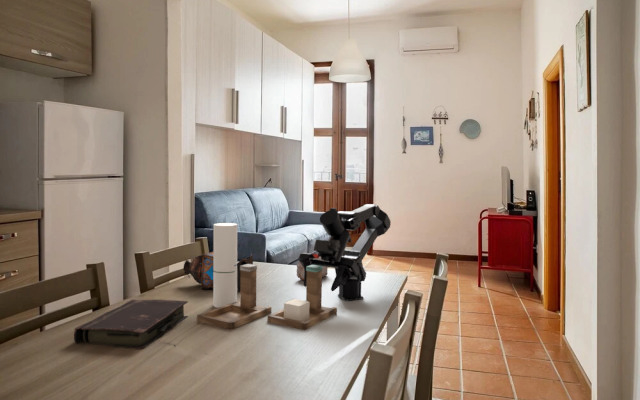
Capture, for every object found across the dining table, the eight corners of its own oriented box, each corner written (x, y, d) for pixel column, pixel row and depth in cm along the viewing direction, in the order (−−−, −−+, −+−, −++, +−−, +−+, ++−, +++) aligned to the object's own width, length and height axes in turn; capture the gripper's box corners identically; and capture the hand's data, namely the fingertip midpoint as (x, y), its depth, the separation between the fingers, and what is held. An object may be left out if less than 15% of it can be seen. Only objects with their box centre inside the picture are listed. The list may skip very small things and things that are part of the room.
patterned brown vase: (249, 305, 170) (183, 297, 174) (260, 265, 179) (198, 258, 184) (238, 284, 157) (168, 275, 161) (251, 242, 166) (184, 235, 171)
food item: (313, 283, 178) (314, 257, 177) (294, 280, 181) (295, 255, 181) (329, 276, 190) (329, 251, 189) (311, 274, 193) (311, 249, 193)
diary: (73, 347, 114) (72, 326, 114) (130, 315, 139) (129, 298, 138) (145, 351, 111) (145, 330, 111) (191, 318, 136) (190, 300, 136)
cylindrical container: (241, 303, 150) (241, 223, 148) (229, 309, 143) (229, 226, 142) (221, 300, 152) (221, 222, 151) (208, 306, 146) (208, 225, 144)
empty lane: (238, 308, 144) (239, 261, 143) (271, 315, 138) (271, 266, 137) (197, 324, 129) (197, 271, 128) (231, 332, 123) (231, 277, 122)
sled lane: (301, 308, 144) (302, 262, 143) (336, 315, 138) (337, 267, 137) (267, 324, 129) (267, 272, 128) (305, 332, 123) (305, 278, 122)
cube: (294, 316, 134) (294, 298, 134) (309, 319, 132) (309, 301, 131) (283, 321, 130) (284, 303, 129) (299, 324, 127) (299, 306, 127)
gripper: (301, 226, 148) (280, 268, 139) (355, 231, 138) (337, 277, 130) (314, 248, 155) (295, 289, 147) (366, 254, 146) (350, 298, 137)
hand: (318, 288), depth 140 cm, fingers open, 9 cm apart
